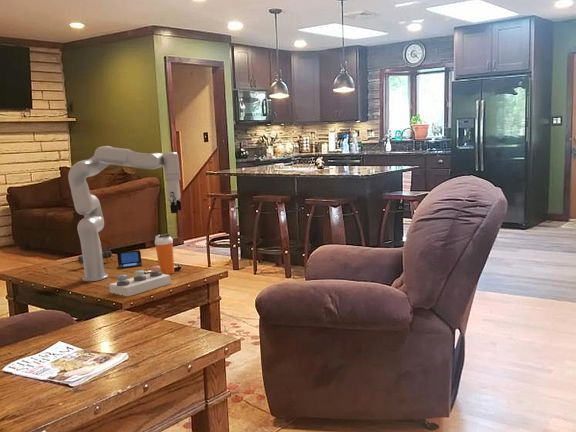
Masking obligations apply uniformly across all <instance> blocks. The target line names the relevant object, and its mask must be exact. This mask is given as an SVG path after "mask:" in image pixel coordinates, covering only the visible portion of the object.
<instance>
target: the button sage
mask: <svg viewBox="0 0 576 432" xmlns="http://www.w3.org/2000/svg"><path fill="white" fill-rule="evenodd" d="M144 274H145V270H144V269H139V270H135V271H134V277H137V276H141V275H144Z"/></svg>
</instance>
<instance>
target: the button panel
mask: <svg viewBox="0 0 576 432" xmlns="http://www.w3.org/2000/svg"><path fill="white" fill-rule="evenodd" d="M170 284H172V279H171V274H170V275H166V274H162V272H161V271H160V270H159V271H151V272H148V273H144V275H141V276H133V277H130V278H128V279H127V280H122V281H119V280H118V281H116V282H112V283H109V284H108V285H109V287H108V288H109V293H110V294H113V293H115V294H114V295H118V294H119V295H118V296H122V295H123V297H126V296H127V297H131V296H134V295H138V294H142V293H144V292H148V291H150V290H155V289H157V288H161V287H165V286H168V285H170Z"/></svg>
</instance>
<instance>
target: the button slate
mask: <svg viewBox="0 0 576 432" xmlns="http://www.w3.org/2000/svg"><path fill="white" fill-rule="evenodd" d="M127 279H129V277H128V274H120V275H117V281H118V282H119V281H123V280H127Z"/></svg>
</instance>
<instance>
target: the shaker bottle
mask: <svg viewBox="0 0 576 432" xmlns="http://www.w3.org/2000/svg"><path fill="white" fill-rule="evenodd" d="M173 241H174V239H173V238H172V237H171V233H165V234H161V233H159V234H157V235H155V240H154V245H155V251H156V255H157V256H156V257H157V262H158V266H160V270H159V271H161V272H162V274H166V275H170V276H171V275H173V274H174V273H175V260H174V246H173V243H174V242H173Z"/></svg>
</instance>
